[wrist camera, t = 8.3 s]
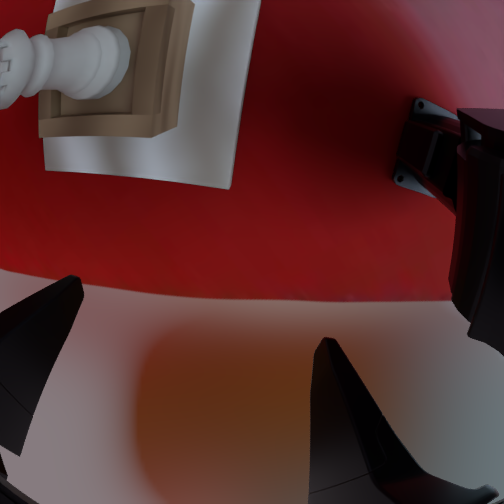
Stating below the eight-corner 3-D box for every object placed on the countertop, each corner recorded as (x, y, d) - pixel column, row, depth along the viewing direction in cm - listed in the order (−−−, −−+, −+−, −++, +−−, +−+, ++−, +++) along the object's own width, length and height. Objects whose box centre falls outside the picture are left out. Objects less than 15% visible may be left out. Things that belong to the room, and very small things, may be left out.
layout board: (268, -33, 10) (264, -68, 6) (231, 184, 19) (216, 216, 15) (65, -7, 10) (25, -14, 6) (52, 166, 18) (14, 189, 14)
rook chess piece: (71, 41, 10) (-35, 47, 3) (134, 17, 9) (27, -9, 3) (74, 106, 12) (-32, 143, 6) (136, 90, 12) (23, 111, 5)
